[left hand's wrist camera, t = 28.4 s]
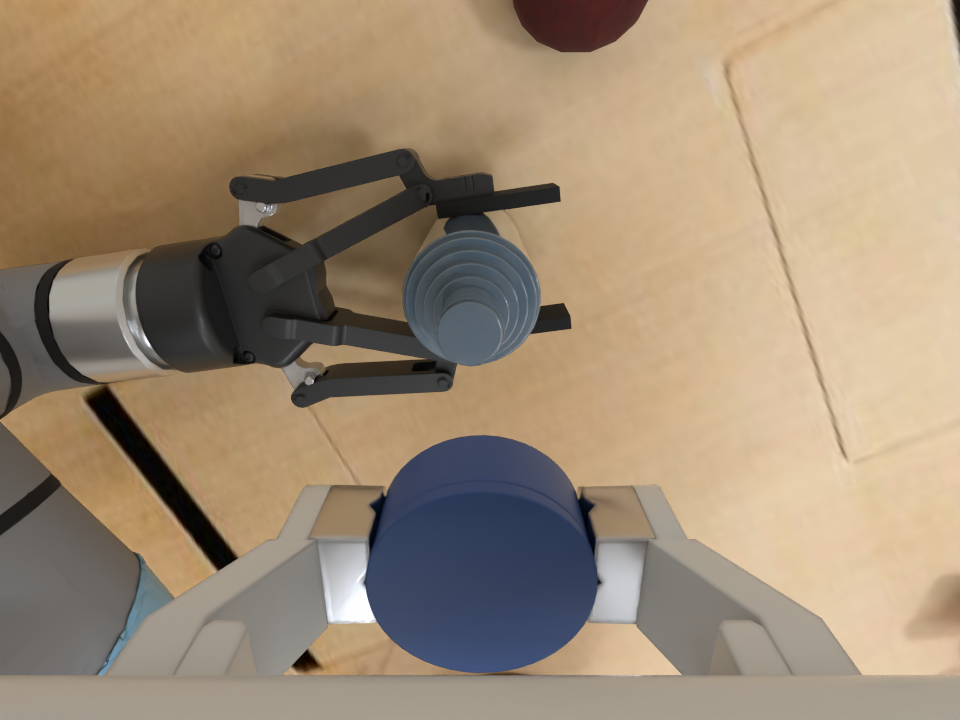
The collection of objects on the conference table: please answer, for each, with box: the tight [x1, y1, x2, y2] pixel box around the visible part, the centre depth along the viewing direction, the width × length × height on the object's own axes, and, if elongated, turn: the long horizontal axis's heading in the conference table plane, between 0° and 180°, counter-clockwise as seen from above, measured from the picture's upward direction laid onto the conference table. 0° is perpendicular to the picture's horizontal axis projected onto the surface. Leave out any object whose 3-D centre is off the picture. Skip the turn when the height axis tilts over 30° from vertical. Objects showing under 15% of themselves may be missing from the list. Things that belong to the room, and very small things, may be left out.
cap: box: [365, 435, 598, 673], centre depth 10 cm, size 4×4×2 cm
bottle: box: [402, 210, 541, 366], centre depth 29 cm, size 6×6×18 cm
